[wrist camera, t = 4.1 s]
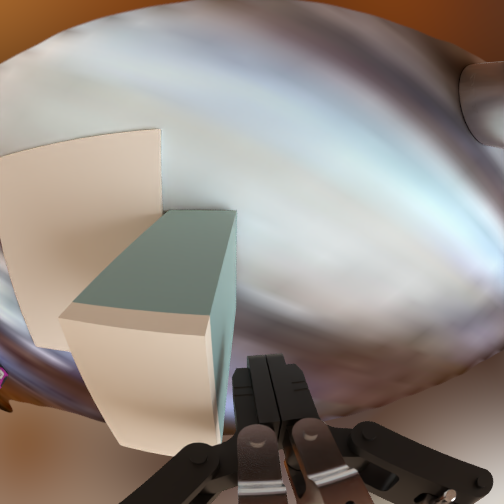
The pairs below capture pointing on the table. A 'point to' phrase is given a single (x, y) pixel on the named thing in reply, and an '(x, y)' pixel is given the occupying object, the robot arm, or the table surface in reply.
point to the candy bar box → (2, 376)
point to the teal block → (161, 332)
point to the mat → (74, 218)
